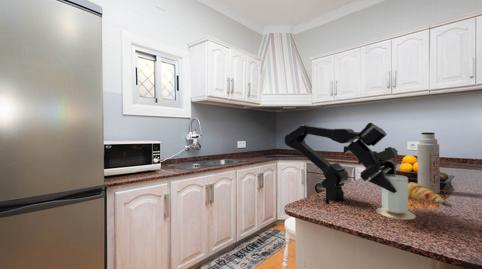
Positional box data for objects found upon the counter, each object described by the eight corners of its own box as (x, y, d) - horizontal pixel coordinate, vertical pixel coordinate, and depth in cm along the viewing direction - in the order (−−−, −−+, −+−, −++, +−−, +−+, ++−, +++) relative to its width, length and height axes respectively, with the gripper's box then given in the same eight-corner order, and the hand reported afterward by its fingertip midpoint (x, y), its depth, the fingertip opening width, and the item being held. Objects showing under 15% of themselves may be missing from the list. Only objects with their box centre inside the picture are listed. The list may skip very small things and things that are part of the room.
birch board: (381, 221, 71) (381, 217, 71) (372, 209, 81) (372, 206, 81) (422, 224, 67) (422, 220, 67) (407, 212, 78) (407, 209, 78)
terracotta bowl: (390, 214, 73) (390, 203, 73) (386, 210, 77) (386, 200, 77) (404, 215, 72) (404, 204, 72) (399, 211, 76) (399, 201, 76)
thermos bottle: (444, 193, 101) (443, 132, 101) (424, 192, 102) (424, 132, 102) (432, 189, 109) (431, 132, 109) (414, 188, 110) (413, 132, 110)
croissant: (448, 213, 86) (455, 194, 87) (433, 204, 83) (440, 184, 84) (395, 197, 106) (401, 182, 107) (381, 189, 103) (387, 174, 104)
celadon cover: (380, 209, 74) (380, 176, 74) (383, 204, 79) (383, 173, 79) (407, 214, 69) (407, 179, 69) (408, 208, 75) (408, 176, 75)
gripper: (370, 140, 71) (412, 179, 63) (390, 138, 83) (428, 172, 75) (346, 162, 78) (381, 200, 69) (368, 158, 89) (400, 190, 81)
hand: (399, 190), depth 73 cm, fingers closed on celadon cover, 7 cm apart
